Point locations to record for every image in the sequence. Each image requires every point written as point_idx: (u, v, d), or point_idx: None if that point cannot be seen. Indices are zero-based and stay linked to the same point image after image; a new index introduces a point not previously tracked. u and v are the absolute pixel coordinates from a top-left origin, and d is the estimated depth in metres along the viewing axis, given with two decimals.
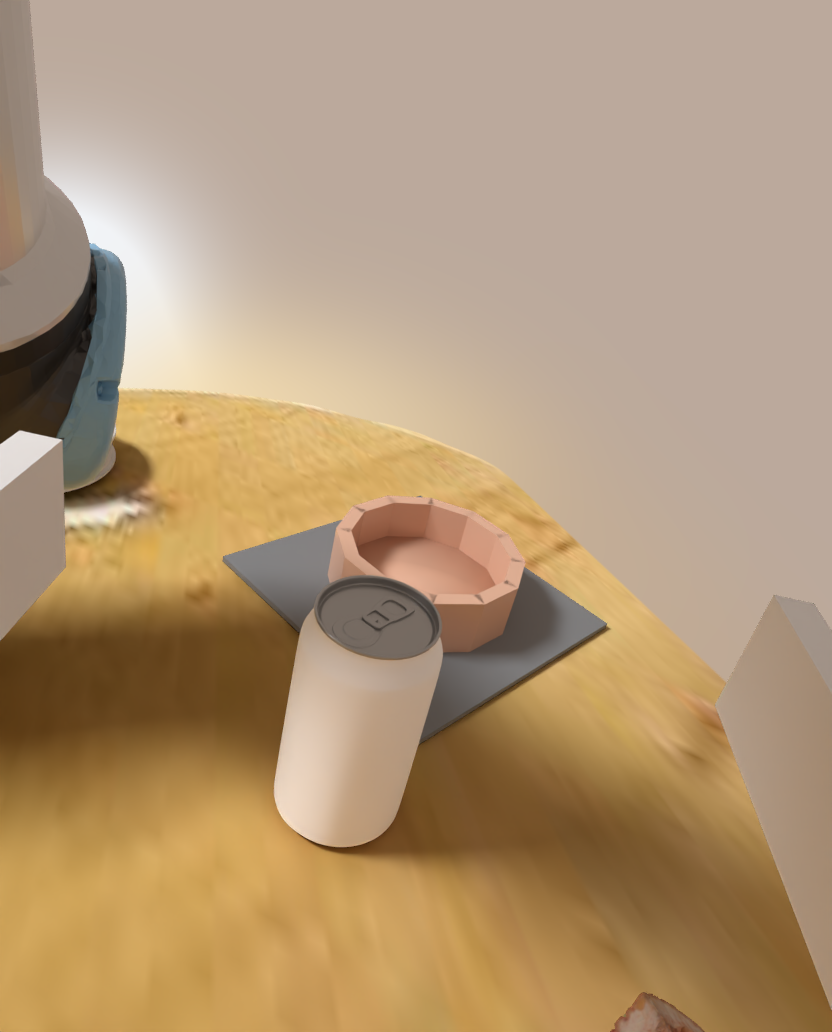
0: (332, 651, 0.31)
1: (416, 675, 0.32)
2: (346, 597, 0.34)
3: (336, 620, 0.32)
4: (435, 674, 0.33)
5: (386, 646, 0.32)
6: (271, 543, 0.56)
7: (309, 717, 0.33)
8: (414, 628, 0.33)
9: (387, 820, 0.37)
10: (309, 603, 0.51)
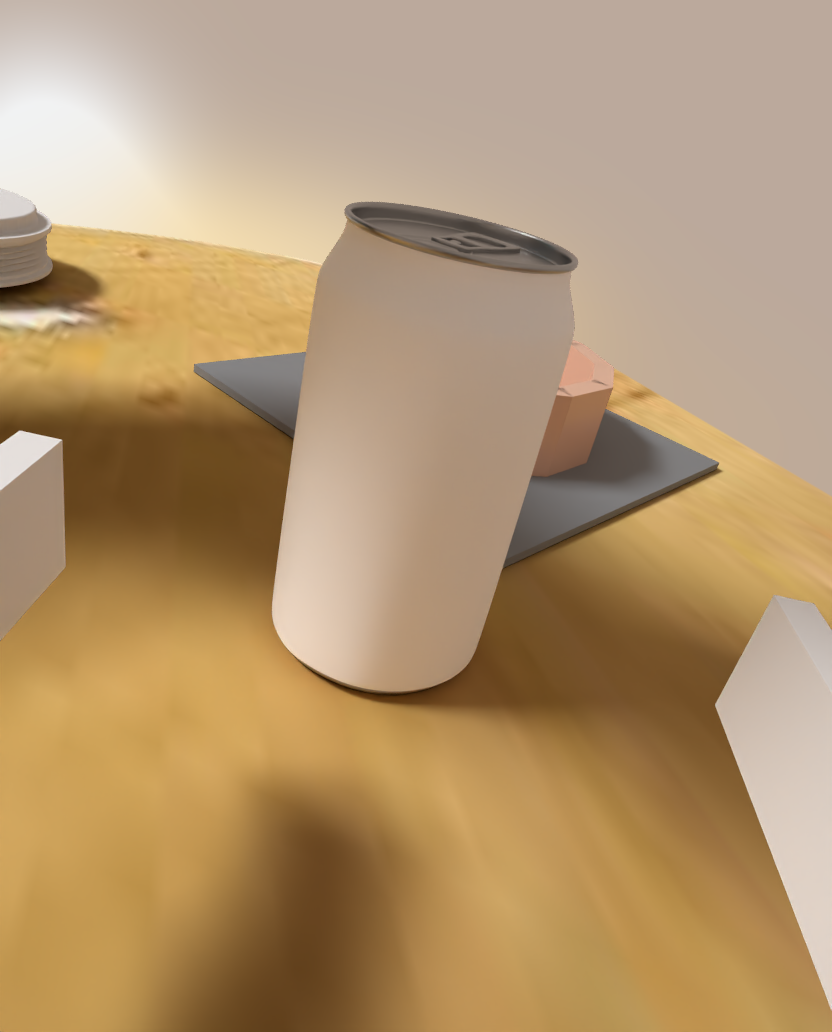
0: (384, 263, 0.16)
1: (542, 318, 0.17)
2: (399, 225, 0.19)
3: None
4: (568, 339, 0.18)
5: None
6: (261, 358, 0.41)
7: (336, 420, 0.18)
8: (526, 261, 0.18)
9: (466, 649, 0.22)
10: None
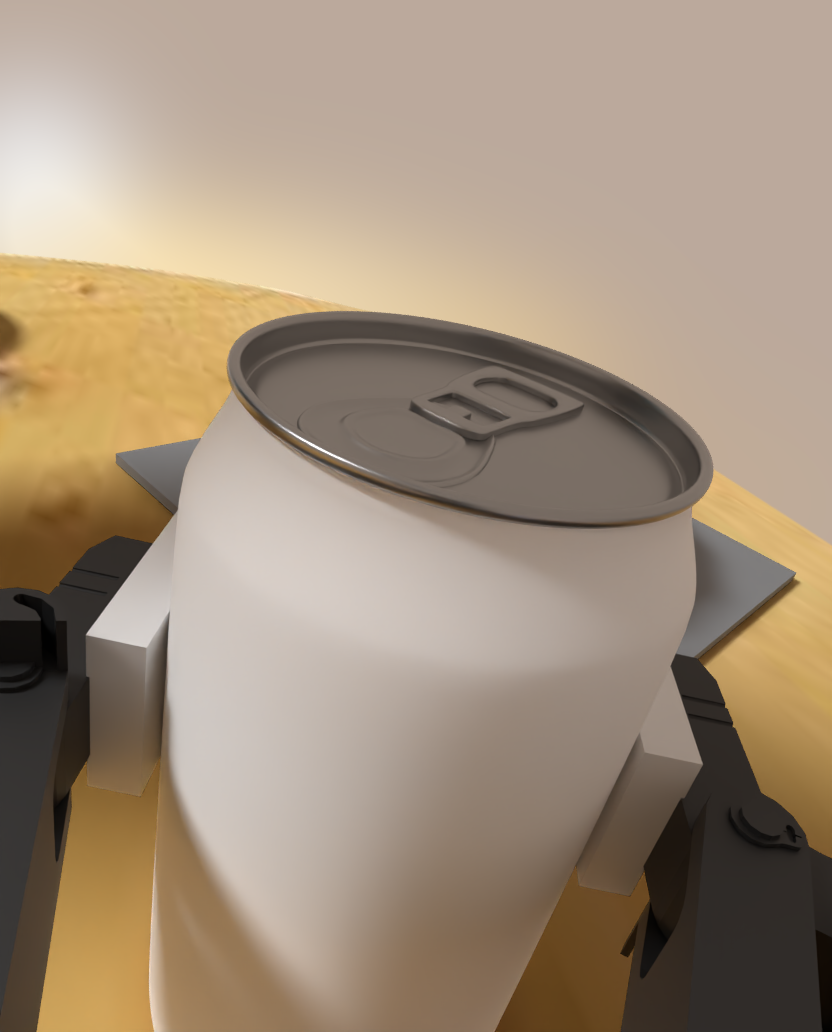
0: (295, 502, 0.07)
1: (649, 608, 0.08)
2: (351, 360, 0.10)
3: (315, 404, 0.08)
4: (690, 613, 0.09)
5: (523, 488, 0.08)
6: None
7: (213, 781, 0.09)
8: (602, 447, 0.09)
9: None
10: None
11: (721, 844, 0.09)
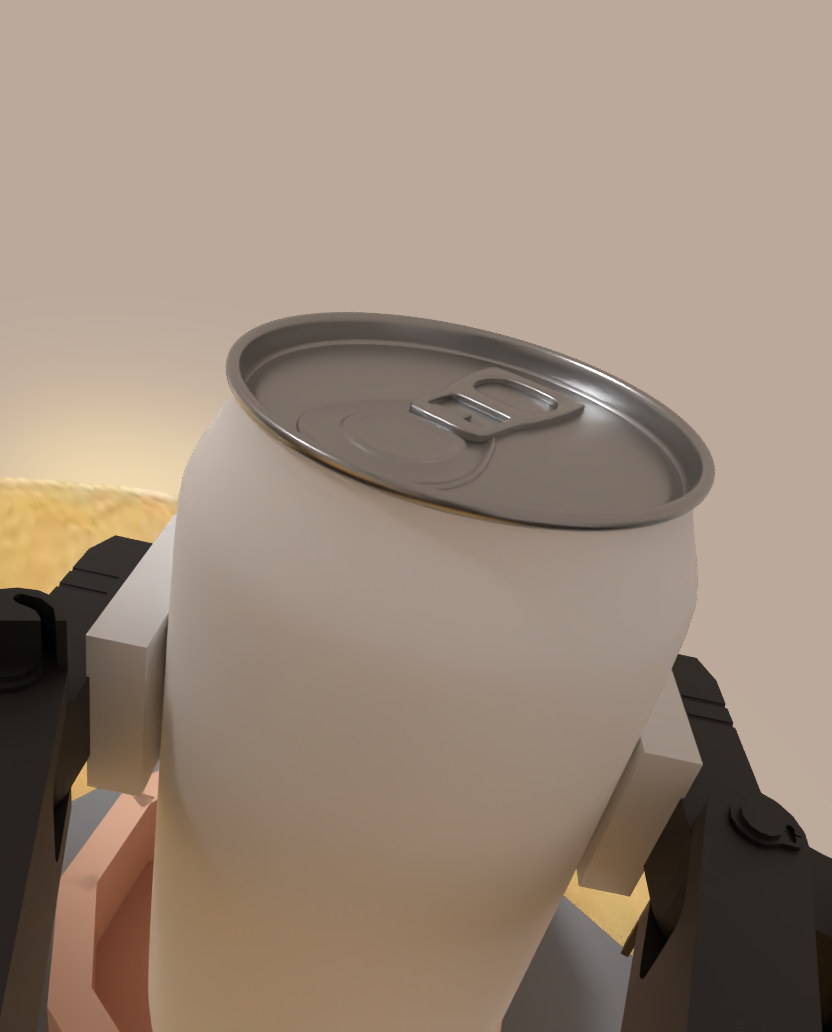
0: (293, 504, 0.07)
1: (650, 611, 0.08)
2: (351, 361, 0.10)
3: (314, 406, 0.08)
4: (691, 616, 0.09)
5: (523, 490, 0.08)
6: None
7: (212, 783, 0.09)
8: (603, 449, 0.09)
9: None
10: None
11: (720, 843, 0.09)
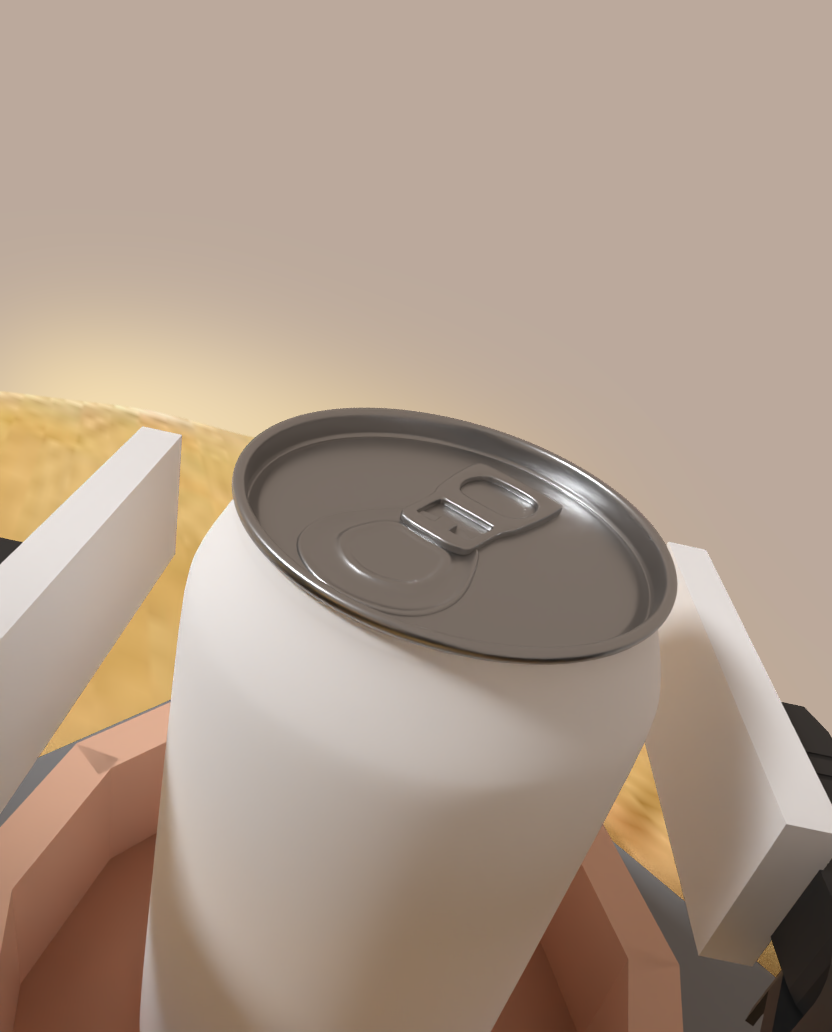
0: (294, 628, 0.08)
1: (615, 723, 0.08)
2: (346, 461, 0.11)
3: (313, 520, 0.09)
4: None
5: (502, 612, 0.08)
6: None
7: (211, 863, 0.09)
8: (577, 557, 0.10)
9: None
10: None
11: None
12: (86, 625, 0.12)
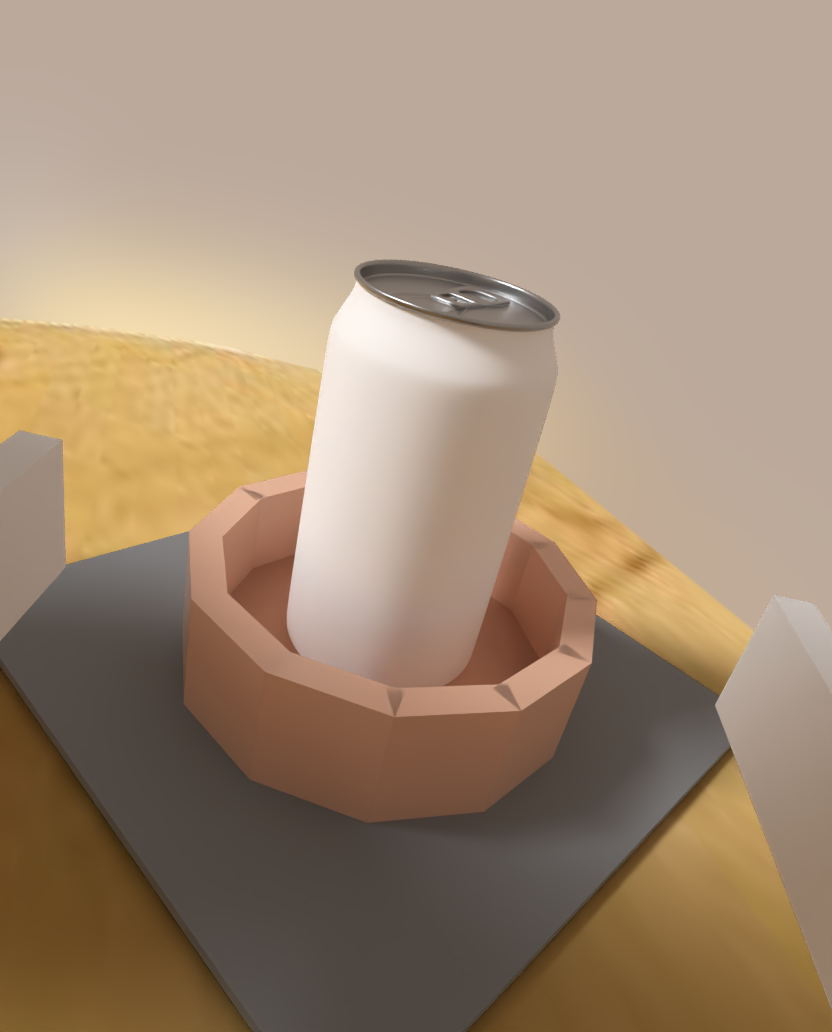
0: (388, 323, 0.19)
1: (527, 369, 0.19)
2: (402, 281, 0.21)
3: (391, 293, 0.20)
4: (551, 385, 0.20)
5: None
6: (77, 565, 0.28)
7: (347, 456, 0.20)
8: (515, 315, 0.21)
9: (461, 657, 0.24)
10: (122, 701, 0.23)
11: None
12: None
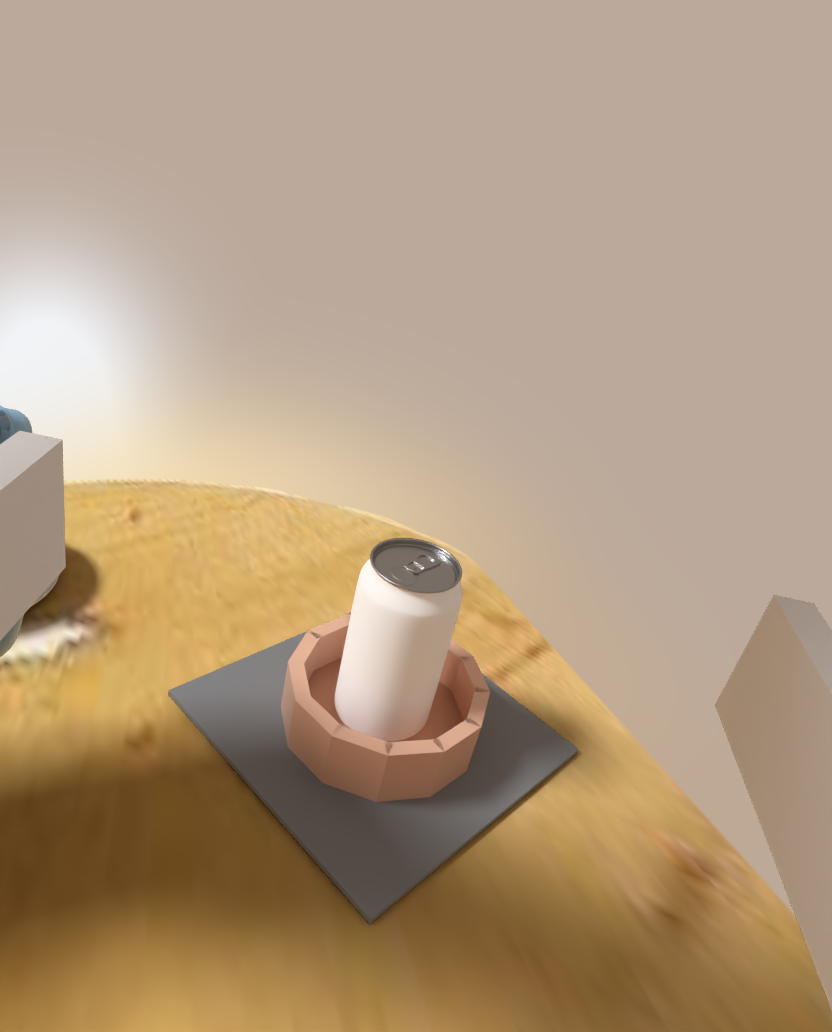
0: (385, 588, 0.44)
1: (445, 605, 0.44)
2: (391, 553, 0.47)
3: (386, 568, 0.45)
4: (458, 606, 0.45)
5: (423, 585, 0.44)
6: (222, 670, 0.53)
7: (366, 638, 0.45)
8: (442, 573, 0.46)
9: (421, 722, 0.49)
10: (259, 745, 0.48)
11: None
12: None
